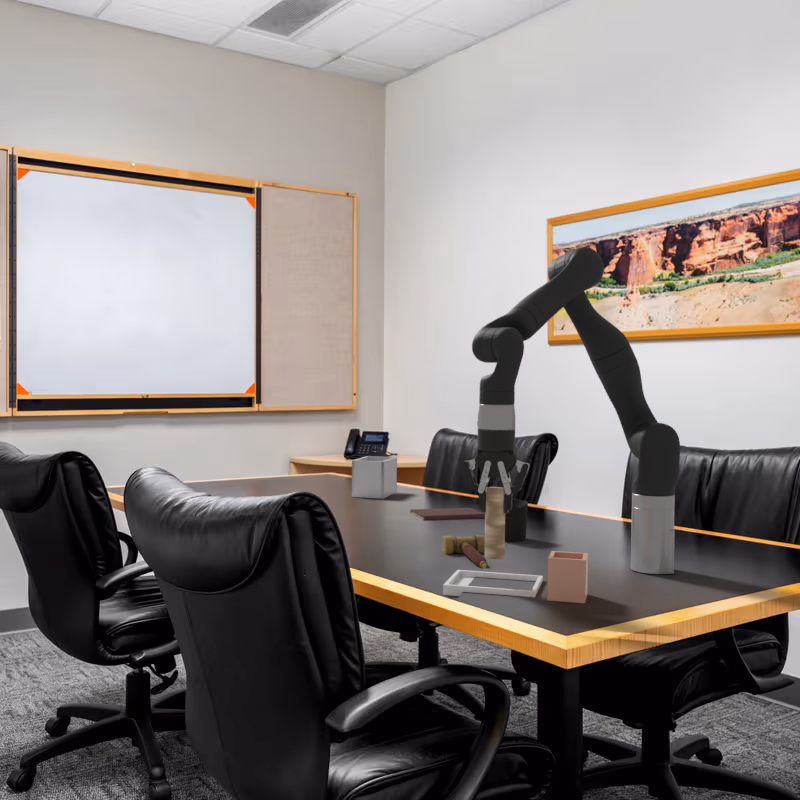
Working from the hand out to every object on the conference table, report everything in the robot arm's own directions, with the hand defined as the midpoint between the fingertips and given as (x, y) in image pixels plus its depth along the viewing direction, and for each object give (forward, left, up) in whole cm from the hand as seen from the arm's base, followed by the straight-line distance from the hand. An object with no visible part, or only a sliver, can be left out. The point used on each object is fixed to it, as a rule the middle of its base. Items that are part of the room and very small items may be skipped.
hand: (495, 511), depth 174 cm
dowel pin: (0, 0, -9) cm, 9 cm away
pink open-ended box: (-15, +5, -16) cm, 22 cm away
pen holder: (+5, -56, -16) cm, 58 cm away
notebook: (+29, -89, -17) cm, 95 cm away
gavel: (+10, -28, -17) cm, 33 cm away
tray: (0, 0, -16) cm, 16 cm away
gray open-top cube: (+64, -126, -16) cm, 142 cm away
